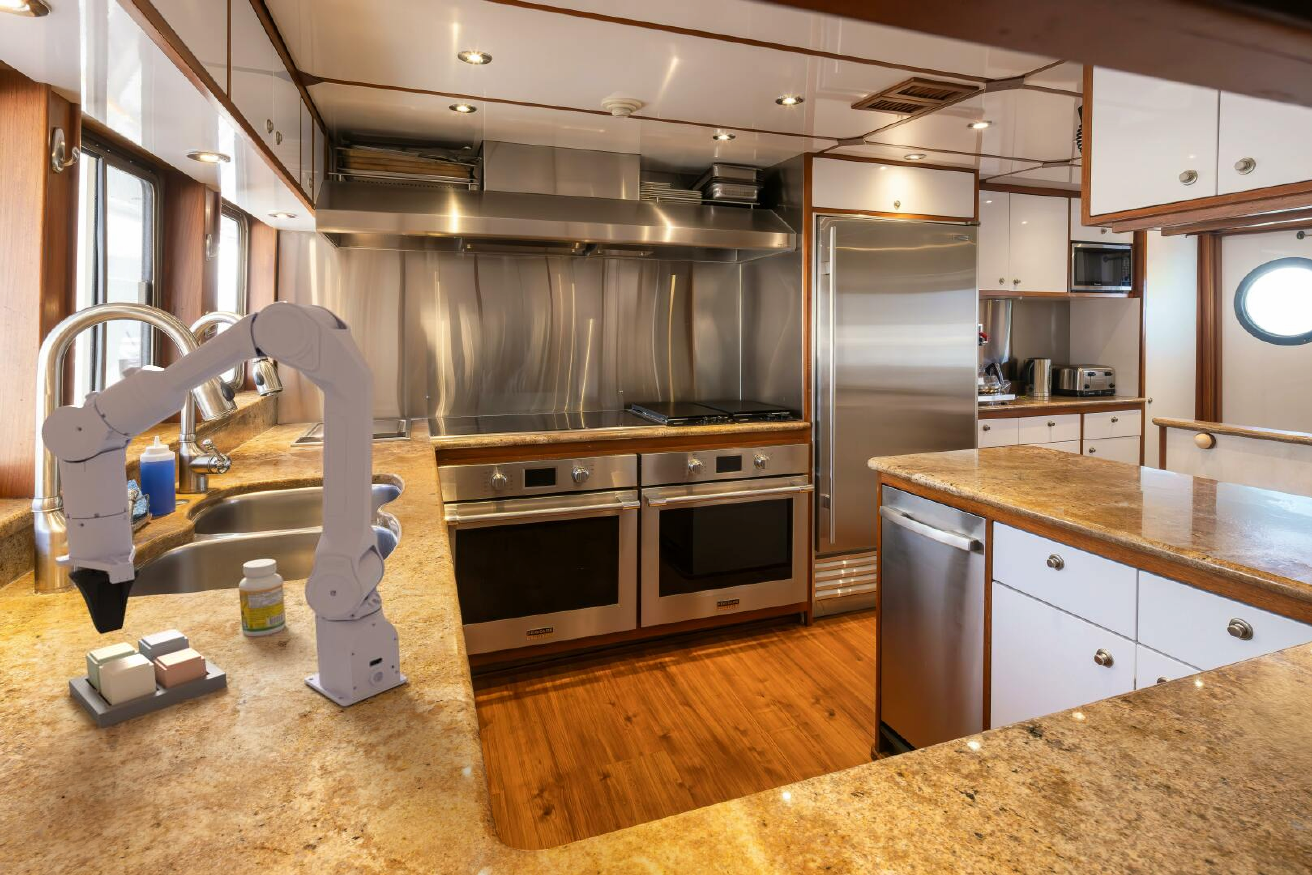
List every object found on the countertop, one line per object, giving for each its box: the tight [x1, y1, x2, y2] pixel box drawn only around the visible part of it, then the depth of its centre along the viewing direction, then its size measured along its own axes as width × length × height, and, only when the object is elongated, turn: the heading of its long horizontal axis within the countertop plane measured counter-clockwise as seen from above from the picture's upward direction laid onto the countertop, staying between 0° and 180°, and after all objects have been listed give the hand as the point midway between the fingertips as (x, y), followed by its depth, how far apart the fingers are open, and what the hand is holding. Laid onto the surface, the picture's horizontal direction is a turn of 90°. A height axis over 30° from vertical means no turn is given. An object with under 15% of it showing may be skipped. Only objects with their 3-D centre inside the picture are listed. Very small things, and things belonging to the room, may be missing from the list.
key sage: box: [85, 641, 139, 691], centre depth 82 cm, size 4×4×4 cm
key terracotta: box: [153, 647, 207, 689], centre depth 83 cm, size 4×4×4 cm
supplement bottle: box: [238, 558, 287, 637], centre depth 100 cm, size 5×5×10 cm
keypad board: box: [68, 646, 228, 730], centre depth 83 cm, size 12×12×2 cm
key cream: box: [99, 654, 156, 706], centre depth 79 cm, size 4×4×4 cm
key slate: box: [137, 628, 190, 663], centre depth 86 cm, size 4×4×4 cm
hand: (109, 629), depth 82 cm, fingers closed
